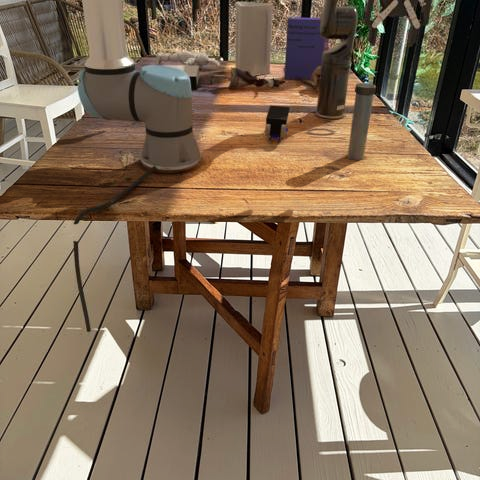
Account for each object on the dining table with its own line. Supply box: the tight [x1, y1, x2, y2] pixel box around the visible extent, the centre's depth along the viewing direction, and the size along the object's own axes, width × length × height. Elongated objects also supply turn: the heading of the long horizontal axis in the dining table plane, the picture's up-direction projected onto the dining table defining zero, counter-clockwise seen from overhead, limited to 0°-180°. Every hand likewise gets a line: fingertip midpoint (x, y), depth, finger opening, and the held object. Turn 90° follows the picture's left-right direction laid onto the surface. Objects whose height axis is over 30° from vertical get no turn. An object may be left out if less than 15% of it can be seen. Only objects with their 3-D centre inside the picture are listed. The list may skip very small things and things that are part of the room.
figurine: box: [209, 66, 287, 89], centre depth 190 cm, size 24×8×30 cm
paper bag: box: [234, 1, 274, 77], centre depth 210 cm, size 19×15×28 cm
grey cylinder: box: [346, 92, 375, 161], centre depth 124 cm, size 4×4×18 cm
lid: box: [354, 82, 377, 95], centre depth 119 cm, size 5×5×2 cm
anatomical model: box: [310, 66, 321, 93], centre depth 190 cm, size 13×9×15 cm
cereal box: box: [283, 16, 330, 81], centre depth 202 cm, size 17×5×24 cm, turn 86°
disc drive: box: [162, 64, 200, 90], centre depth 197 cm, size 18×22×5 cm
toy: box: [155, 50, 221, 69], centre depth 223 cm, size 24×25×7 cm
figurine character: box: [264, 105, 290, 143], centre depth 140 cm, size 7×8×15 cm
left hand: (174, 20), depth 152 cm, fingers open, 13 cm apart
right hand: (390, 45), depth 109 cm, fingers open, 8 cm apart
